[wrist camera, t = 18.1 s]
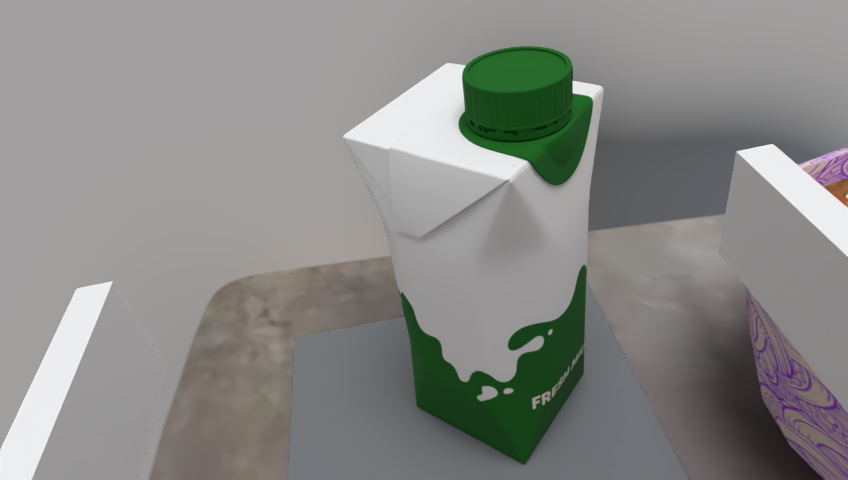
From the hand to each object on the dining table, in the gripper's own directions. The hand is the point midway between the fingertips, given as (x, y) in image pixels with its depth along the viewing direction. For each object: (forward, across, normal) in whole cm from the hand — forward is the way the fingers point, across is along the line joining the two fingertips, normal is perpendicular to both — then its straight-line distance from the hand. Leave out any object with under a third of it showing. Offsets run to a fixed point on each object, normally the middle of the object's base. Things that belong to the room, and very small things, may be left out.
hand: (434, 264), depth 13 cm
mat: (+12, 0, -22) cm, 25 cm away
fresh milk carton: (+12, +2, -21) cm, 25 cm away
